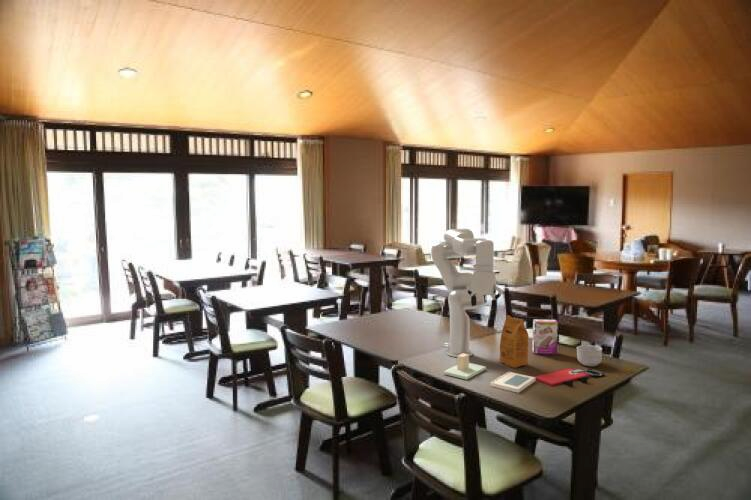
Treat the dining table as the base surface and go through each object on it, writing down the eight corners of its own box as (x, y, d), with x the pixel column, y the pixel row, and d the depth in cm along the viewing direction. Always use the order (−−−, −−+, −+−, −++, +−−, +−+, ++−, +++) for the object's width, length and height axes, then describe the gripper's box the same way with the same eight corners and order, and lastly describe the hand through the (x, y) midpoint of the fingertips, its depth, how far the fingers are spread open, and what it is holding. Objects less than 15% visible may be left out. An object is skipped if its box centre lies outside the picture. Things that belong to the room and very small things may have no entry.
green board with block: (443, 373, 225) (443, 357, 224) (463, 364, 238) (463, 348, 237) (466, 379, 218) (467, 362, 217) (485, 369, 231) (486, 353, 230)
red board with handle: (609, 377, 221) (580, 367, 234) (609, 370, 221) (580, 361, 234) (558, 390, 207) (531, 380, 220) (558, 384, 207) (531, 373, 220)
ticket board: (490, 386, 211) (490, 382, 211) (508, 375, 224) (508, 371, 224) (518, 392, 203) (518, 388, 203) (535, 381, 217) (535, 377, 216)
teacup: (590, 369, 231) (590, 352, 230) (570, 363, 240) (571, 346, 239) (611, 365, 237) (612, 347, 236) (591, 358, 246) (592, 342, 246)
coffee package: (513, 358, 247) (514, 313, 245) (530, 366, 235) (531, 318, 233) (495, 361, 243) (496, 315, 241) (512, 369, 232) (513, 320, 229)
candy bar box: (533, 354, 253) (534, 321, 252) (531, 351, 258) (532, 319, 257) (557, 355, 252) (558, 321, 251) (555, 352, 257) (555, 319, 256)
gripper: (462, 267, 229) (462, 305, 231) (498, 271, 219) (498, 311, 220) (470, 266, 235) (470, 303, 237) (506, 269, 224) (505, 308, 226)
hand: (483, 307), depth 229 cm, fingers open, 9 cm apart
